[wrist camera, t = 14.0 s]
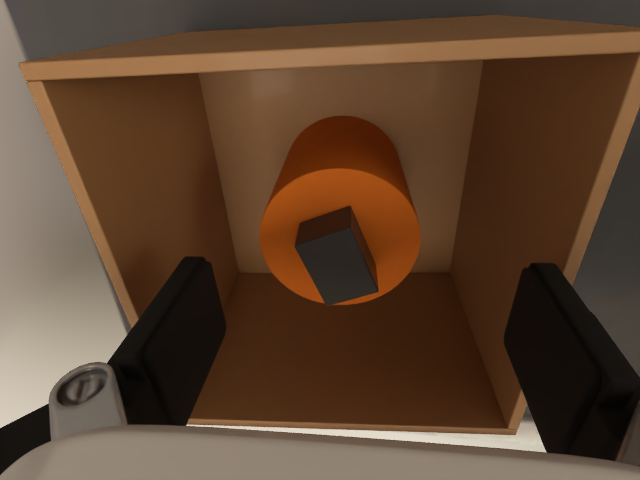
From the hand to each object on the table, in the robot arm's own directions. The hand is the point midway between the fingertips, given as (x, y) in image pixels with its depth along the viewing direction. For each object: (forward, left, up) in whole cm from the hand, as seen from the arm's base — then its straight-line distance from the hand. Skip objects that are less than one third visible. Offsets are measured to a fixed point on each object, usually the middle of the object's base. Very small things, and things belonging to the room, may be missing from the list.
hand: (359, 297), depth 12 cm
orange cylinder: (+1, 0, -10) cm, 10 cm away
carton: (+1, 0, -10) cm, 10 cm away
